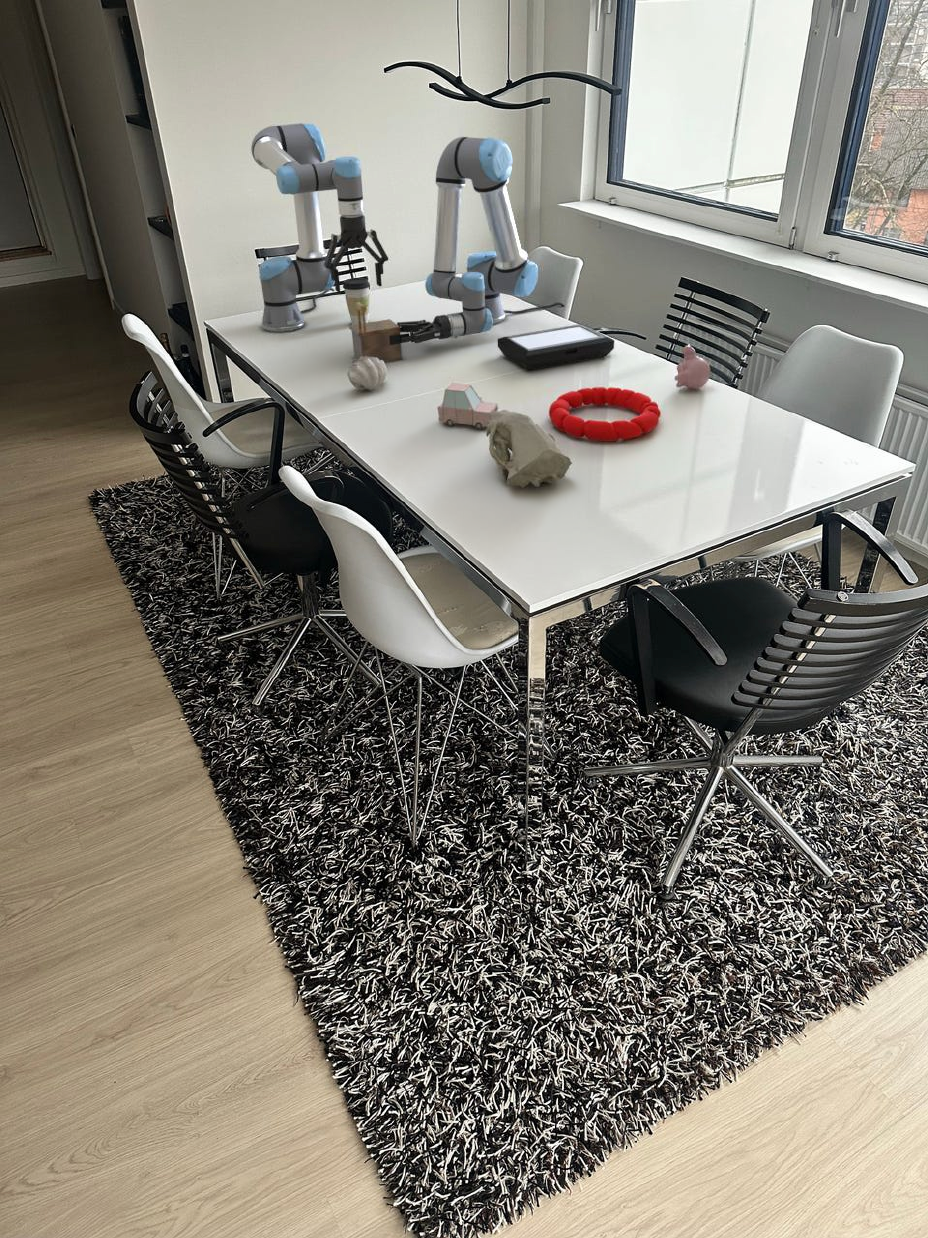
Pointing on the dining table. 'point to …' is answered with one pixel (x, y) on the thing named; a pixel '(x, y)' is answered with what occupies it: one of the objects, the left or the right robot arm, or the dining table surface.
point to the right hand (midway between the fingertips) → (384, 336)
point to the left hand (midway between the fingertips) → (358, 288)
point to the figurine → (692, 370)
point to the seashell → (367, 372)
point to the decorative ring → (604, 428)
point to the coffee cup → (357, 297)
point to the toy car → (465, 406)
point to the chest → (377, 346)
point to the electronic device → (555, 346)
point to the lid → (371, 324)
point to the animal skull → (525, 450)
